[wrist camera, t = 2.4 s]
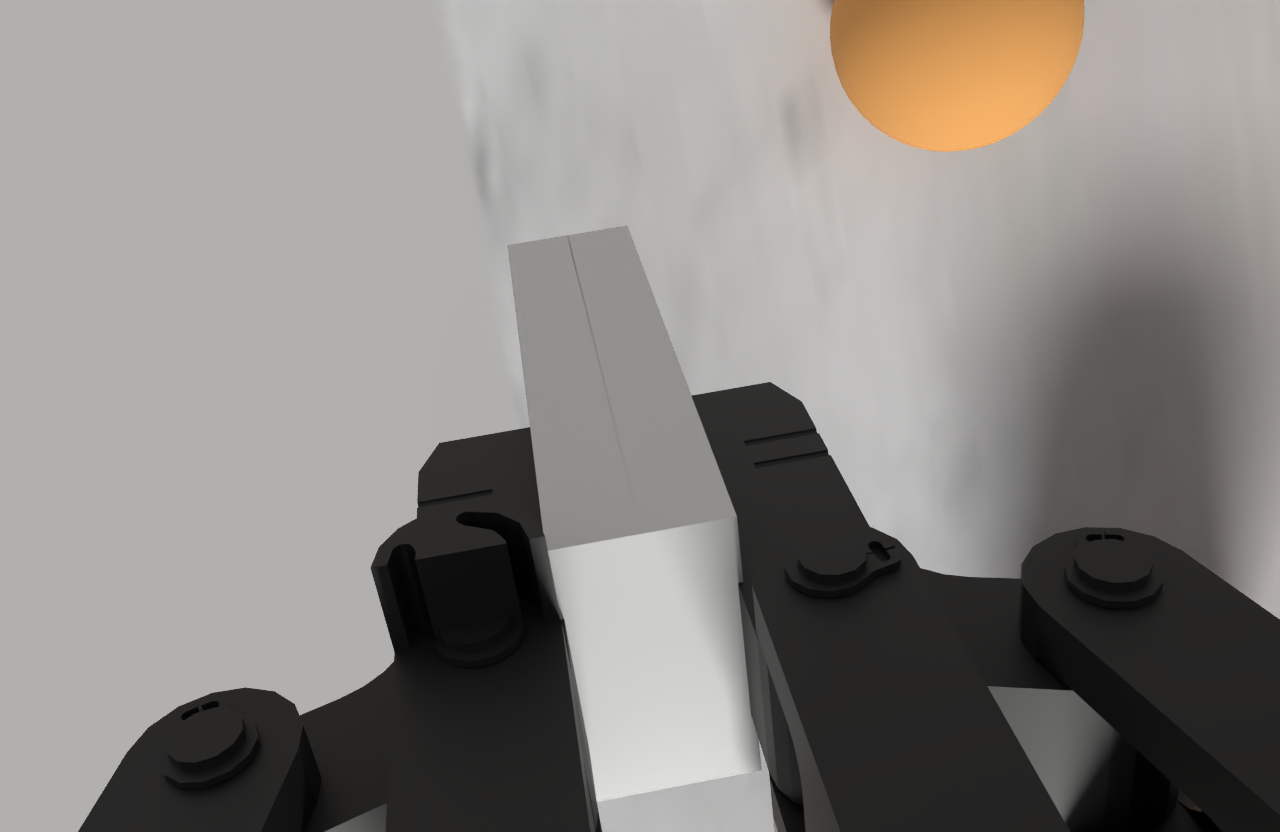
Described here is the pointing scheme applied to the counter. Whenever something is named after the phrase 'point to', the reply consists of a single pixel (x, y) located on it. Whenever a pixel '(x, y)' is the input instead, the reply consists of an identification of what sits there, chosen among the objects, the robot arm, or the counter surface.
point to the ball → (954, 65)
